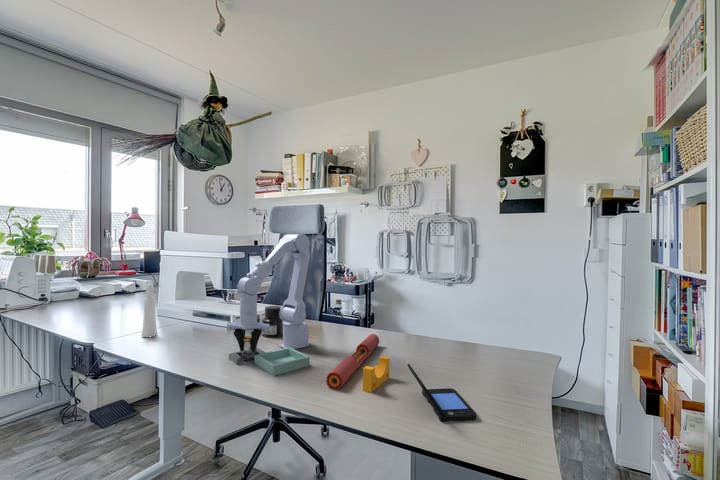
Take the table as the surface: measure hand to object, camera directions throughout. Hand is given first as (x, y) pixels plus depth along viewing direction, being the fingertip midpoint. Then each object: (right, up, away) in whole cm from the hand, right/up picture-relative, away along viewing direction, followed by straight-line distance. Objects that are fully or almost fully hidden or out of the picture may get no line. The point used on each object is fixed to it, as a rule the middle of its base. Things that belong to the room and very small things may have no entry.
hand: (248, 350), depth 121 cm
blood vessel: (+38, -4, -4) cm, 39 cm away
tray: (+13, -3, -6) cm, 15 cm away
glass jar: (0, -3, 0) cm, 3 cm away
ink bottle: (+1, -3, +30) cm, 31 cm away
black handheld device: (+60, -4, -33) cm, 68 cm away
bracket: (0, -3, 0) cm, 3 cm away
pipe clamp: (+43, -4, -19) cm, 48 cm away
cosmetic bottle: (-51, -3, +27) cm, 58 cm away
